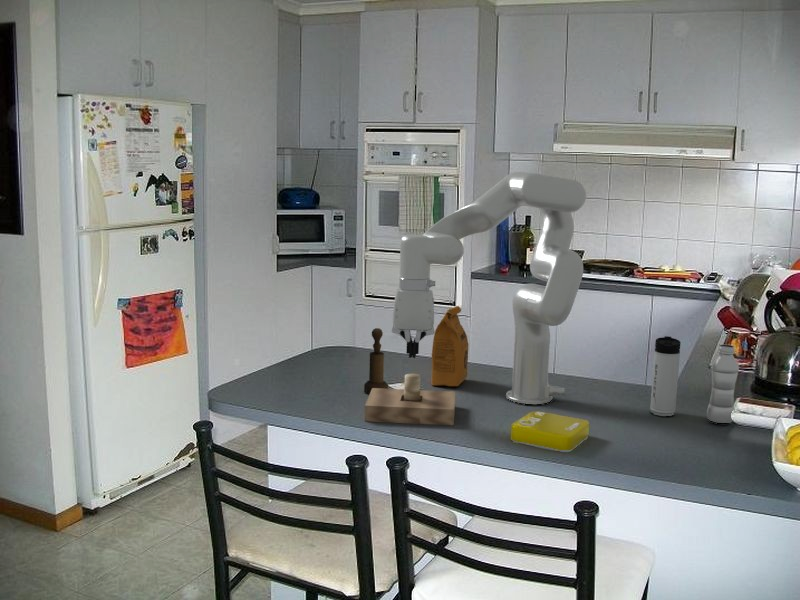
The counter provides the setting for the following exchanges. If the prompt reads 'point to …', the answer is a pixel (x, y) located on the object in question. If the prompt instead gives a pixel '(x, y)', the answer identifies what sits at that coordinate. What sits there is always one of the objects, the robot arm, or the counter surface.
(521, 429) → the element tile
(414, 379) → the peg
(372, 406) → the board
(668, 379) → the travel mug
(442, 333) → the coffee package
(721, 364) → the plastic bottle
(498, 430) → the counter surface
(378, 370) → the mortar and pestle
